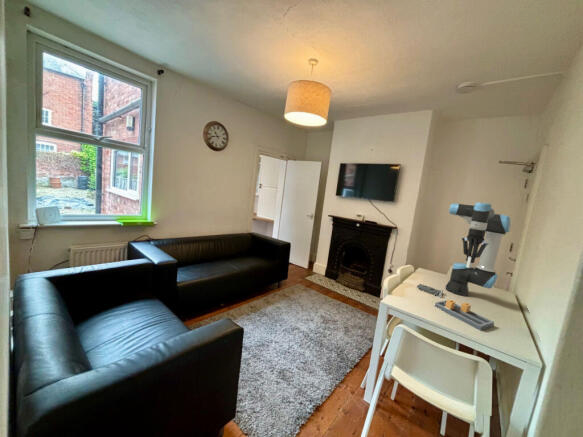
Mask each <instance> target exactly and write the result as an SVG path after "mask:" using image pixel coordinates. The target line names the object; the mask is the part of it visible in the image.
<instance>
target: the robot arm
mask: <svg viewBox="0 0 583 437" xmlns="http://www.w3.org/2000/svg"><path fill="white" fill-rule="evenodd" d="M449 214H450V215H453V216H459V218H462V219H464V222H466V223H467V224H469V229H468V233H467V235H466V237H462V238H461V240H462V244H463V245H462V247H463V248H462V249H463V251H462V252H463V254H464V255H465V256H466V258H465V261H466V263H463V262H455V263H453V265H452V268H451V273H450V277H449V281H447V283H446V285H445V287H444V289H445V290H446V291H447V292H448V293H452V294H454V295H458V296H462V297H469V293H470V292H469V291H470V290H469V283H470V284H472V285H476V286H479V287H482V288H486V289H489V290H490V289H492V288H493V287H494V286H495V284H496V282H497V280H498V277H499V274H498V273H496V272H497V271H496V270H495V264H496V261H497V256H498V253H499V249H500V245H501V241H502V237H503V236H506V234H507V233H509V232H510V231H511V230H510V229H511V217H510V215H505V214H498V213H496V212H495V210H494V209H493V208H492V203H486V202H475V203H474V205H472V204H462V203H451V205H450V206H449ZM480 245H481V246H480ZM476 258H477V259H478V258H480V259H479V261H478V262H479V263H478V264H477V265H476V266H475V267H473V264H474V263H475V260H476Z"/></svg>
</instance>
